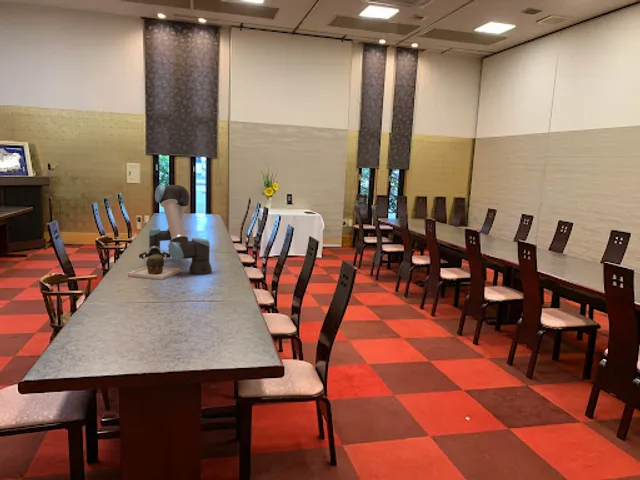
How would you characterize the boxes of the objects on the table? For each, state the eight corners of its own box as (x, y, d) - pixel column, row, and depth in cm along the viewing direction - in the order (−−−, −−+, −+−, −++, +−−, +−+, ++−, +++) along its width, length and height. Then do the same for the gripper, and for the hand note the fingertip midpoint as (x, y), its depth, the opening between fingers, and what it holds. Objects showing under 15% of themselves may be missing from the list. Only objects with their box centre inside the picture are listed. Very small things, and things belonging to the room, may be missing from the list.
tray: (180, 272, 320) (180, 268, 320) (162, 280, 297) (162, 276, 296) (148, 268, 324) (148, 265, 324) (127, 276, 301) (127, 272, 301)
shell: (166, 271, 316) (166, 253, 314) (159, 275, 305) (159, 257, 303) (151, 270, 317) (151, 252, 315) (143, 274, 306) (143, 255, 304)
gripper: (173, 257, 341) (174, 263, 322) (136, 257, 333) (135, 264, 313) (173, 246, 340) (174, 252, 320) (135, 247, 332) (134, 253, 312)
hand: (154, 258), depth 317 cm, fingers open, 13 cm apart
